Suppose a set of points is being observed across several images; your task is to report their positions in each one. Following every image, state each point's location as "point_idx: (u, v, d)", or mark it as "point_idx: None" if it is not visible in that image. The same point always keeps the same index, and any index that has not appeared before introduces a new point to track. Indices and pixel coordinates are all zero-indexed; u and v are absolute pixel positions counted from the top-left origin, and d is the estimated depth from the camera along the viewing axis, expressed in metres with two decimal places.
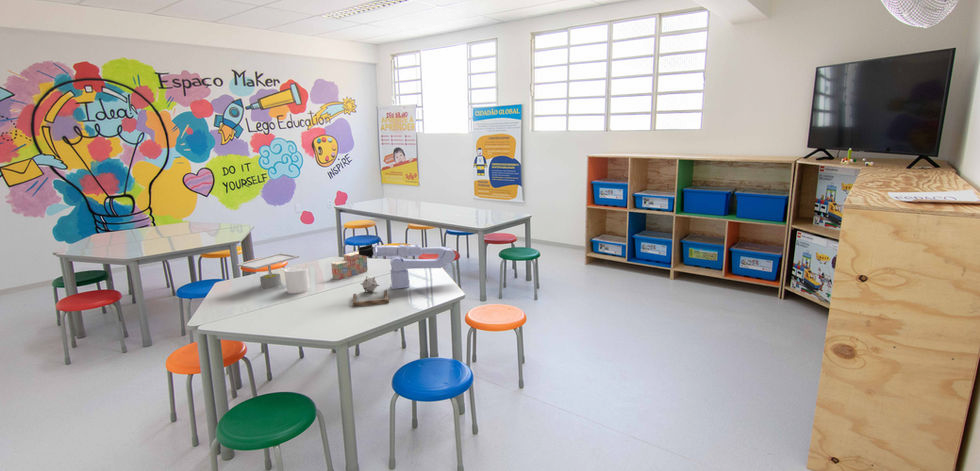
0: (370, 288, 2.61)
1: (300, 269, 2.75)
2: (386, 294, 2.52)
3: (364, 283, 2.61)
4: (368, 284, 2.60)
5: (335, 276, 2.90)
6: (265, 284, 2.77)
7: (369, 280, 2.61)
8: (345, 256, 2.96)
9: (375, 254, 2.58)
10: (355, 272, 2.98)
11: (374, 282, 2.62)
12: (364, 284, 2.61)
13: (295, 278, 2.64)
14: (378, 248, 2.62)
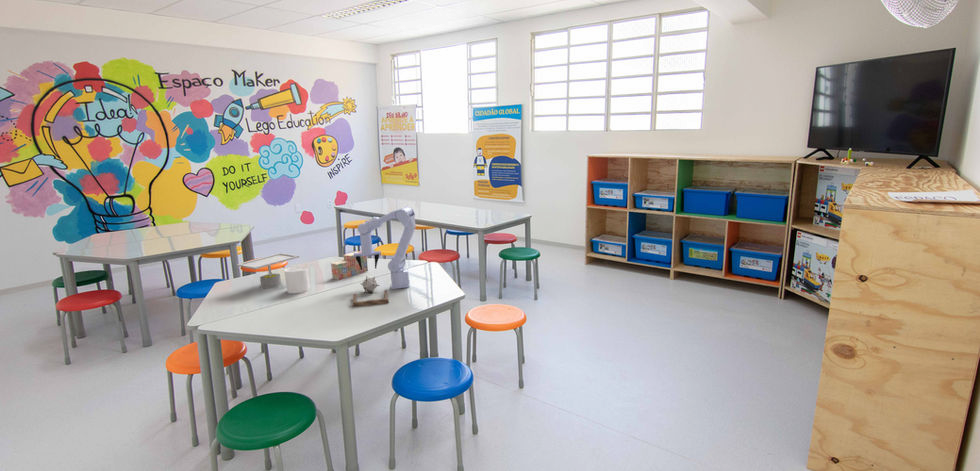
0: (370, 288, 2.61)
1: (300, 269, 2.75)
2: (386, 294, 2.52)
3: (364, 283, 2.61)
4: (368, 284, 2.60)
5: (335, 276, 2.90)
6: (265, 284, 2.77)
7: (369, 280, 2.61)
8: (345, 256, 2.95)
9: None
10: (355, 272, 2.97)
11: (374, 282, 2.62)
12: (364, 284, 2.61)
13: (295, 278, 2.64)
14: None
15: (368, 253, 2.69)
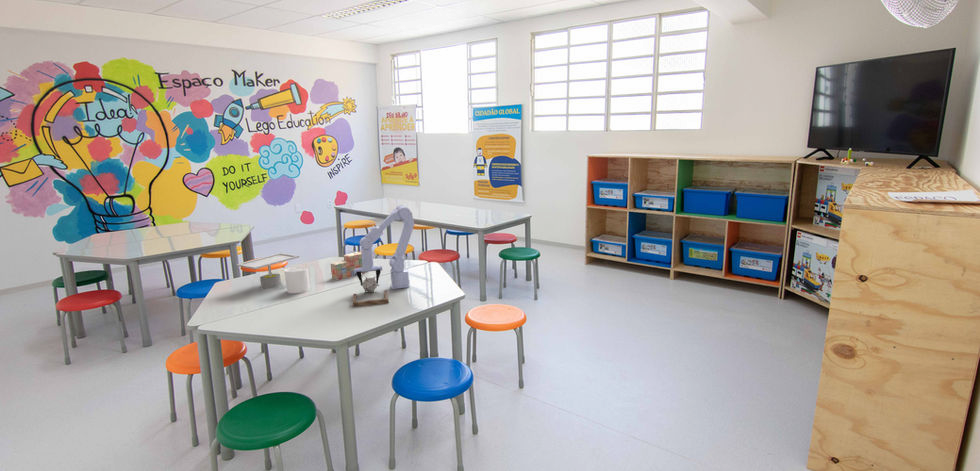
0: (371, 288, 2.60)
1: (300, 269, 2.75)
2: (386, 294, 2.52)
3: (364, 283, 2.60)
4: (369, 284, 2.59)
5: (334, 276, 2.90)
6: (265, 284, 2.77)
7: (369, 280, 2.60)
8: (345, 256, 2.95)
9: (354, 270, 2.61)
10: (355, 273, 2.96)
11: (374, 282, 2.62)
12: (364, 284, 2.60)
13: (295, 277, 2.64)
14: None
15: (369, 268, 2.61)
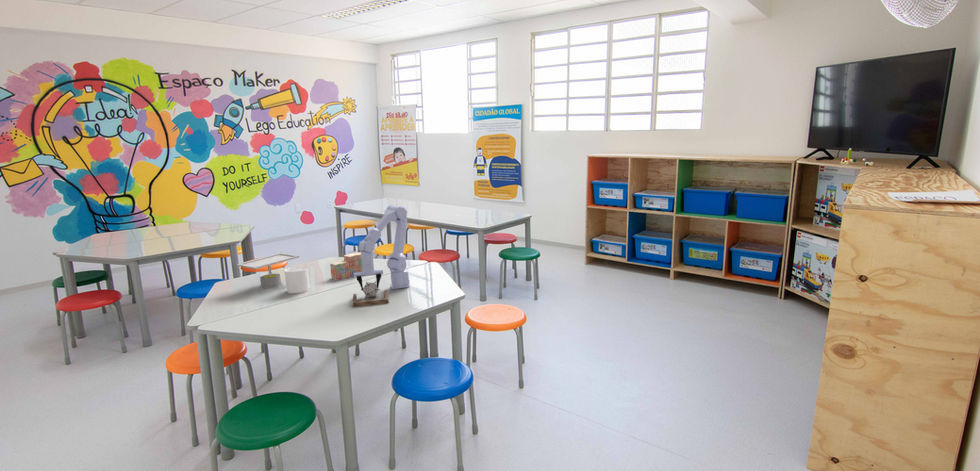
0: (372, 293, 2.52)
1: (300, 269, 2.75)
2: (386, 294, 2.52)
3: (366, 288, 2.52)
4: (370, 289, 2.51)
5: (333, 276, 2.89)
6: (265, 284, 2.77)
7: (371, 285, 2.52)
8: (345, 257, 2.94)
9: (354, 275, 2.53)
10: None
11: (376, 287, 2.54)
12: (366, 289, 2.52)
13: (295, 277, 2.64)
14: None
15: (370, 273, 2.53)
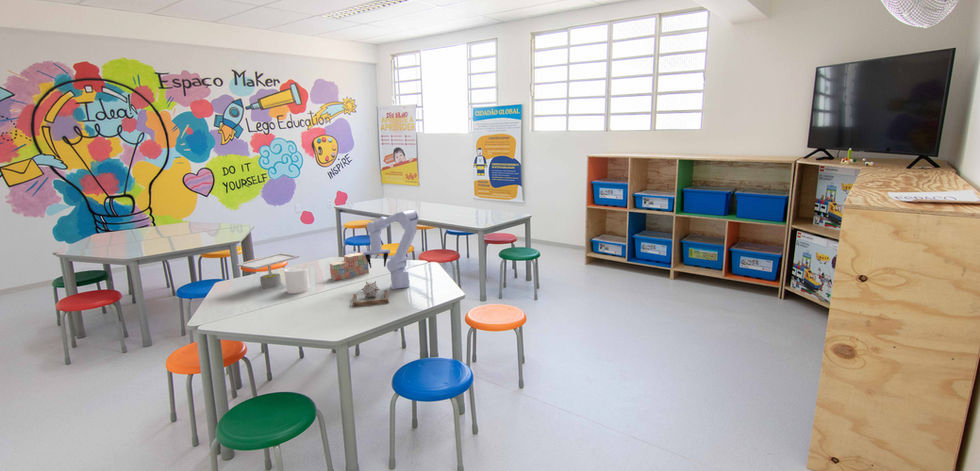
0: (372, 293, 2.52)
1: (300, 269, 2.75)
2: (386, 294, 2.52)
3: (366, 288, 2.52)
4: (370, 289, 2.51)
5: (332, 277, 2.89)
6: (265, 284, 2.77)
7: (371, 285, 2.52)
8: (345, 257, 2.93)
9: (363, 253, 2.73)
10: (354, 274, 2.94)
11: (376, 287, 2.54)
12: (366, 289, 2.52)
13: (295, 277, 2.64)
14: None
15: (377, 251, 2.72)
